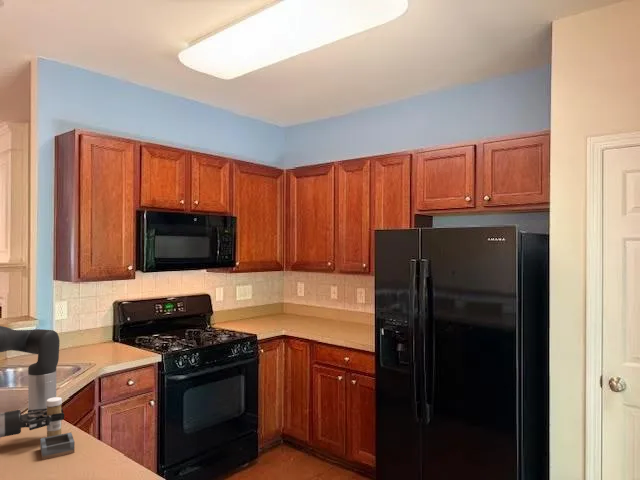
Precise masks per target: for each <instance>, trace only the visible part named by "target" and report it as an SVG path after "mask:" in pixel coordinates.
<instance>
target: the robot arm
mask: <svg viewBox="0 0 640 480" xmlns="http://www.w3.org/2000/svg"><path fill="white" fill-rule="evenodd" d="M7 351H9V352H10V351H16V352H22V353H28V354H32V355H37V361H36V362H35V363H32V364H30V365H29V366H28V370H27V376H28V377H27V379H28V380H27V385H28V386H27V388H28V389H27V394H28V395H27V401H28V402H27V403H28V404H27V407H28V409H27V413H24V414H21V413H22V412H21V410H20V409H17V410H9V411H4V412H0V438H4V437H10V436H15V435H20V434H21V433H22V429H24V428H28V430H29V431H33V430H36V429H40V428H43V427H44V428H45V427H47V426H48V425H50V423H51V422H54V421H59V420H62V421H63V420H65V412H64V409H63V408H62V407H61V413H58V414H52V416H51V415H47V406H46V401H47V400H48V399H50V398H53V397H57V367H58V363H59V360H60V359H59V358H60V337H59V334H58V333H57V331H55V330H54V329H53V330H52V329H39V328H38V329H37V328H36V329H12V328H10V327H7V326H4V325H0V353H5V352H7Z"/></svg>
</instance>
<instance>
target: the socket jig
mask: <svg viewBox="0 0 640 480" xmlns="http://www.w3.org/2000/svg"><path fill="white" fill-rule="evenodd" d="M39 441H40V446H39V447H40V454H41V455H40V456H41V460H47V459H52V458H57V457H61V456H66V455H71V454H74V453H76V452H75V450H76V449H75V439H74V436H73V433H72V432H67V433H66V432H65V433H61V434H60V435H55V436H50V437H47V436H46V437H42V438H40V440H39Z"/></svg>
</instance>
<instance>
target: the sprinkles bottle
mask: <svg viewBox="0 0 640 480" xmlns="http://www.w3.org/2000/svg"><path fill="white" fill-rule="evenodd" d="M62 404H63V401H62V397H59V396H56V397H53V398H50V399H48V400H47V401H46V406H47V415H51V416H52V414H58V413H61V408H62ZM62 421H63V420H59V421H54V422H51V423H50V425H48V426H46V437H50V436H55V435H60V434H62V424H63V423H62Z"/></svg>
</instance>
